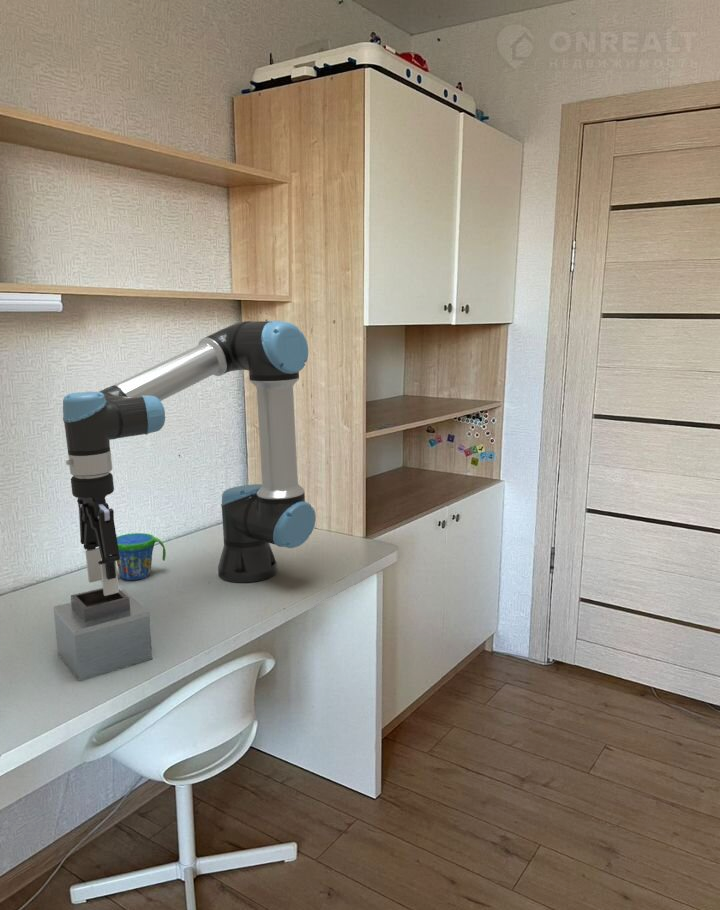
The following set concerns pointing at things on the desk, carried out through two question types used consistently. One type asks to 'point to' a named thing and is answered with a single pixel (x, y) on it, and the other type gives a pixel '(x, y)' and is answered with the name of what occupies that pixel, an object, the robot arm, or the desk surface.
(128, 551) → the snack cup
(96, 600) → the grey block with socket
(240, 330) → the robot arm
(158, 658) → the desk surface
